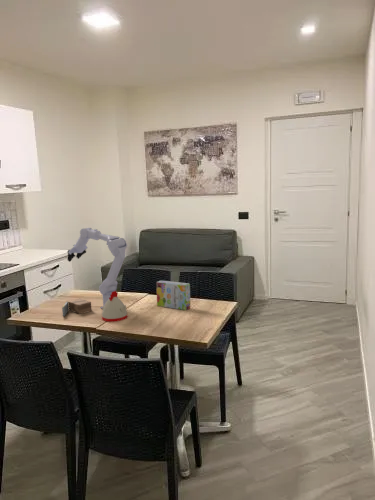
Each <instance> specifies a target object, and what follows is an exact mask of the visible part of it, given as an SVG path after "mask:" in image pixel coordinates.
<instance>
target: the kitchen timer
mask: <svg viewBox="0 0 375 500" xmlns="http://www.w3.org/2000/svg"><path fill="white" fill-rule="evenodd" d="M118 295H119V293H118V292H117V290H116V291H113V292H112V295H110V297H111V298H110V297H109V299H108V300H107V302H106V303H105V305H104V307H103V306H101V307H102V308H101V310H102V313H101V320H102V321H103V322H104V321H105V322H107V323H108V322H109V323H110V322H113V323H114V322H120V321H124V320H126V319H127V318H128V310H127V305H126V304H124V302H123V301H122V299H120V298H119V297H118ZM117 297H118V298H117Z"/></svg>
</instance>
